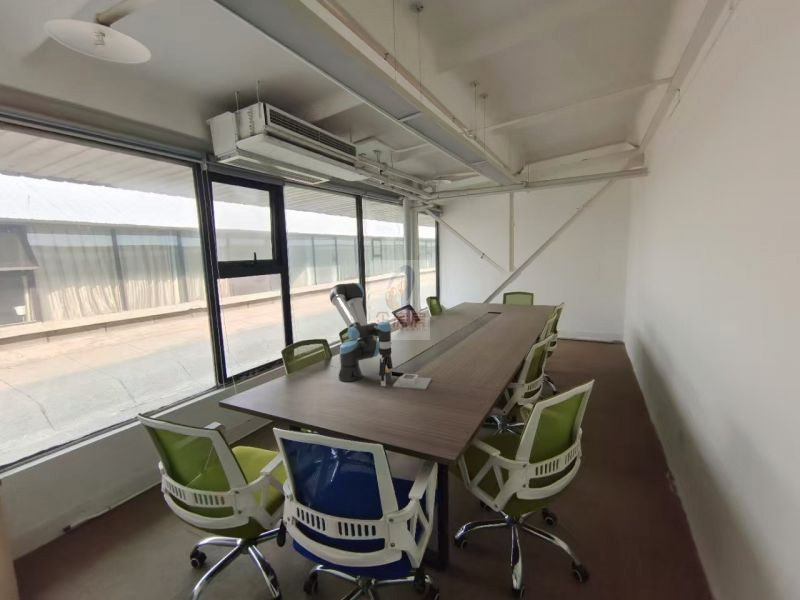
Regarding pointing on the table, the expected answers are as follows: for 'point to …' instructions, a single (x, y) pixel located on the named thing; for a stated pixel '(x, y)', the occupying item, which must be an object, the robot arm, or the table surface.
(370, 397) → the table surface
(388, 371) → the plug
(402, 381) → the socket plate
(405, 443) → the table surface
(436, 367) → the table surface
